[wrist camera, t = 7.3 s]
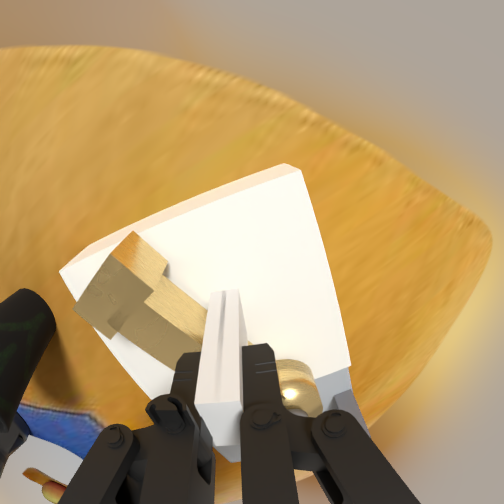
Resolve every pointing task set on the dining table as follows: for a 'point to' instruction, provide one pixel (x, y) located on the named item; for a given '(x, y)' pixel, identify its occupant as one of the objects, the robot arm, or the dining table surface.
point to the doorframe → (243, 278)
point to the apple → (53, 491)
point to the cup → (21, 347)
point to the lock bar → (167, 317)
